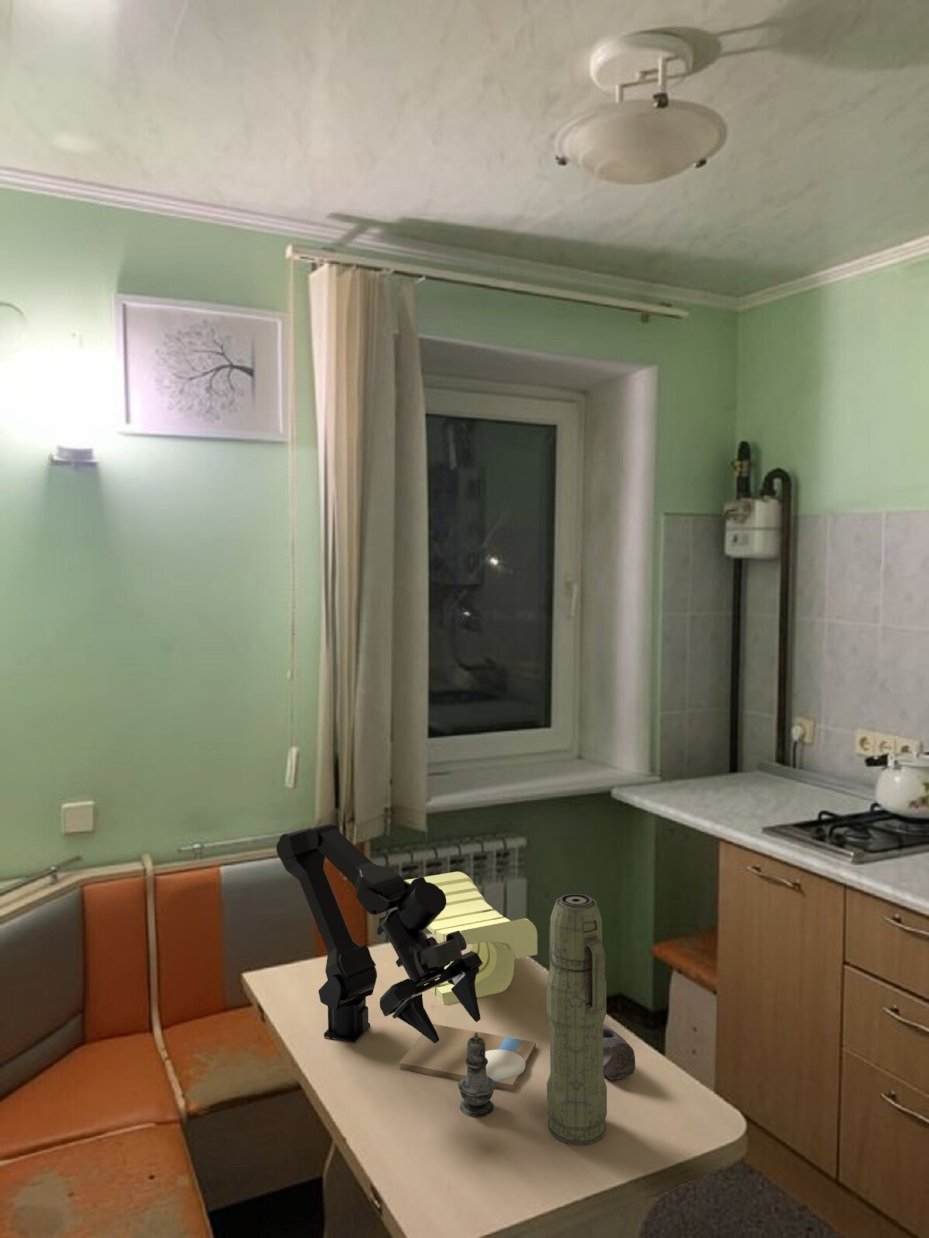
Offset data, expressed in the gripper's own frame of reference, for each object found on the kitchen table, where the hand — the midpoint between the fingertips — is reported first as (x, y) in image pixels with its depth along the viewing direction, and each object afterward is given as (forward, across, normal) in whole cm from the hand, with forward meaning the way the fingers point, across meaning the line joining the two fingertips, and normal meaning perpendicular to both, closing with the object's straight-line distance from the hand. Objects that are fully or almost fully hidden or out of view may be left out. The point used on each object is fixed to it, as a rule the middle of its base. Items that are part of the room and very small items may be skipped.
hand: (458, 1030), depth 144 cm
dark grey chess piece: (+10, 0, +5) cm, 12 cm away
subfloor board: (+3, +9, +13) cm, 16 cm away
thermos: (+21, +7, -5) cm, 23 cm away
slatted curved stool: (-12, +29, +27) cm, 41 cm away
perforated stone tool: (+15, +23, 0) cm, 28 cm away
